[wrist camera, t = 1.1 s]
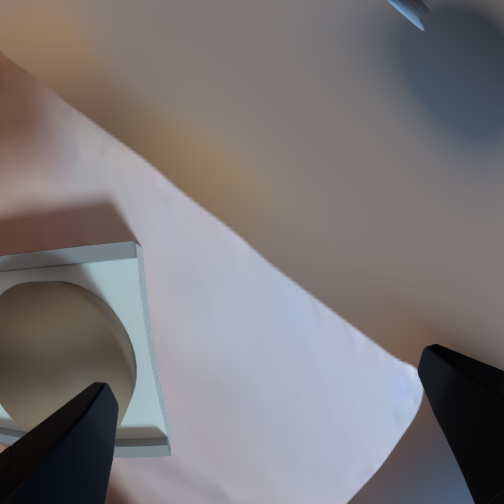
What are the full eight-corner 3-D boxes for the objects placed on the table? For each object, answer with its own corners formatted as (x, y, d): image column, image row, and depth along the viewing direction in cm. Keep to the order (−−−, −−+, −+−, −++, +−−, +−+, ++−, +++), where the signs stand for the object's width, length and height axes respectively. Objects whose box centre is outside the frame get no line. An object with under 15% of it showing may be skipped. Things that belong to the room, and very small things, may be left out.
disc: (151, 426, 17) (147, 451, 14) (26, 421, 15) (8, 440, 12) (124, 274, 18) (111, 274, 15) (-4, 285, 16) (-30, 286, 12)
